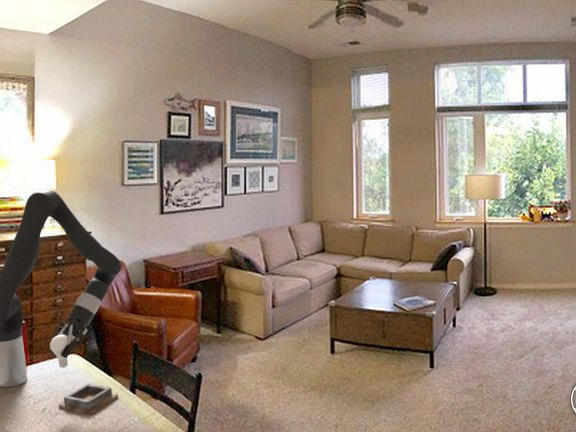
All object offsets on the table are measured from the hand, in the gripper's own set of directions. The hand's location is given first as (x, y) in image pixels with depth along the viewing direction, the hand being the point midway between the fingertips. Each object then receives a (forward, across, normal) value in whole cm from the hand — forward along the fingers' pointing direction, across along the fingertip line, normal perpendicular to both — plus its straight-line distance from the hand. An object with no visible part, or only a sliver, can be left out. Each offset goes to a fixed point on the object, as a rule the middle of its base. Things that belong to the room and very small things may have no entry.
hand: (57, 354), depth 166 cm
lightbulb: (+2, 0, +5) cm, 5 cm away
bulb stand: (+9, +6, +16) cm, 19 cm away
